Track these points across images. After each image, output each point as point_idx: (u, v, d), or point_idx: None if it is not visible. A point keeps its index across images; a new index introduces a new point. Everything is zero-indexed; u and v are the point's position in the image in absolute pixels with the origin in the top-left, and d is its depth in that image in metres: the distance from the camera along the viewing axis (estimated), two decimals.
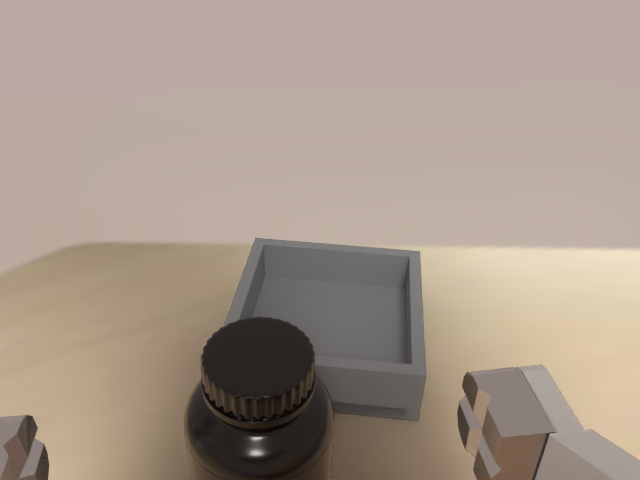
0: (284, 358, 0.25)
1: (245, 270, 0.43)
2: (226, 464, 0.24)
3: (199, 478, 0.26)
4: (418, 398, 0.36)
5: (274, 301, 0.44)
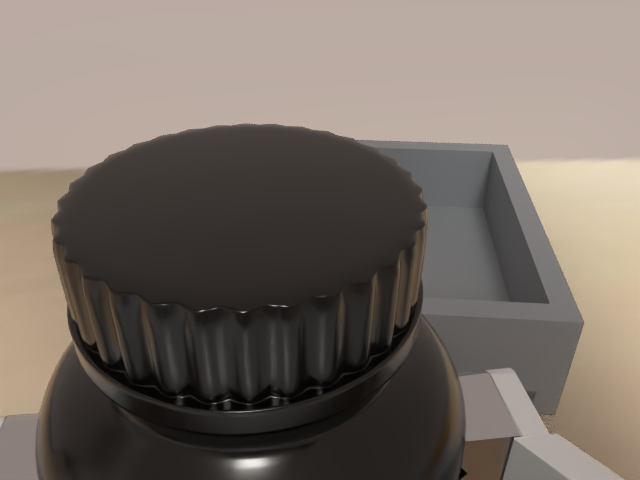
0: (330, 200, 0.08)
1: None
2: None
3: None
4: (562, 370, 0.19)
5: None
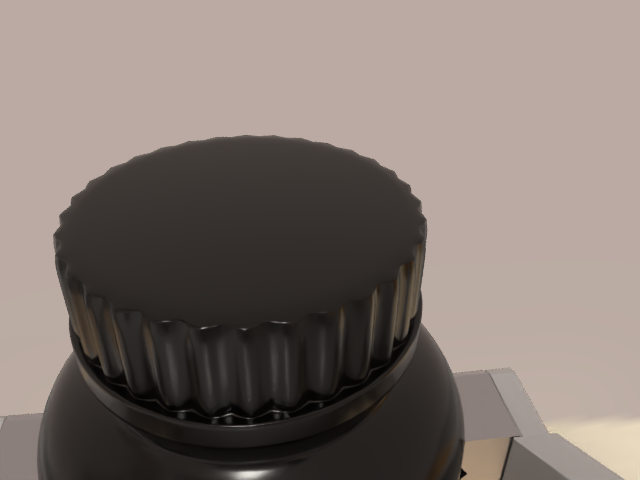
0: (329, 214, 0.08)
1: None
2: None
3: None
4: None
5: None
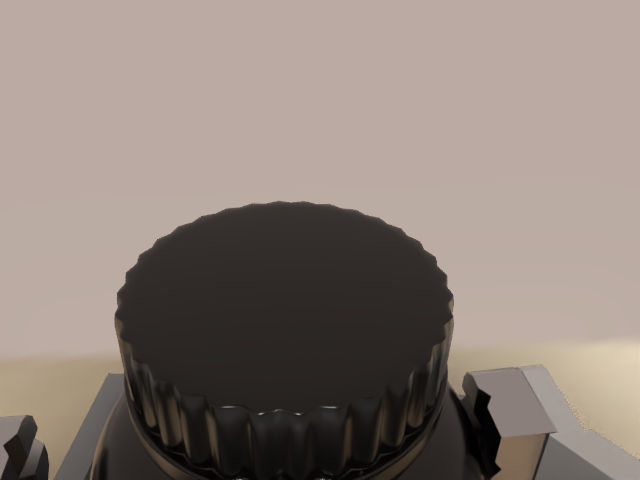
0: (364, 290, 0.08)
1: None
2: None
3: None
4: None
5: None
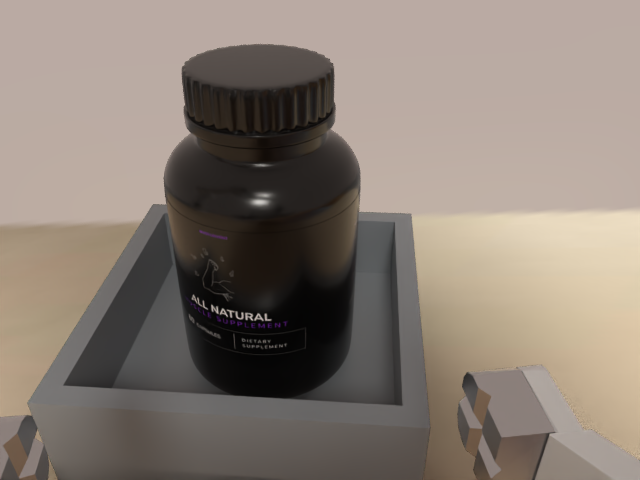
0: (293, 66, 0.18)
1: (125, 252, 0.26)
2: (221, 204, 0.18)
3: (187, 247, 0.20)
4: (418, 468, 0.19)
5: None
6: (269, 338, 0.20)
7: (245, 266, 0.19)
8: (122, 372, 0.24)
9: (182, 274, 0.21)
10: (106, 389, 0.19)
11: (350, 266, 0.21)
